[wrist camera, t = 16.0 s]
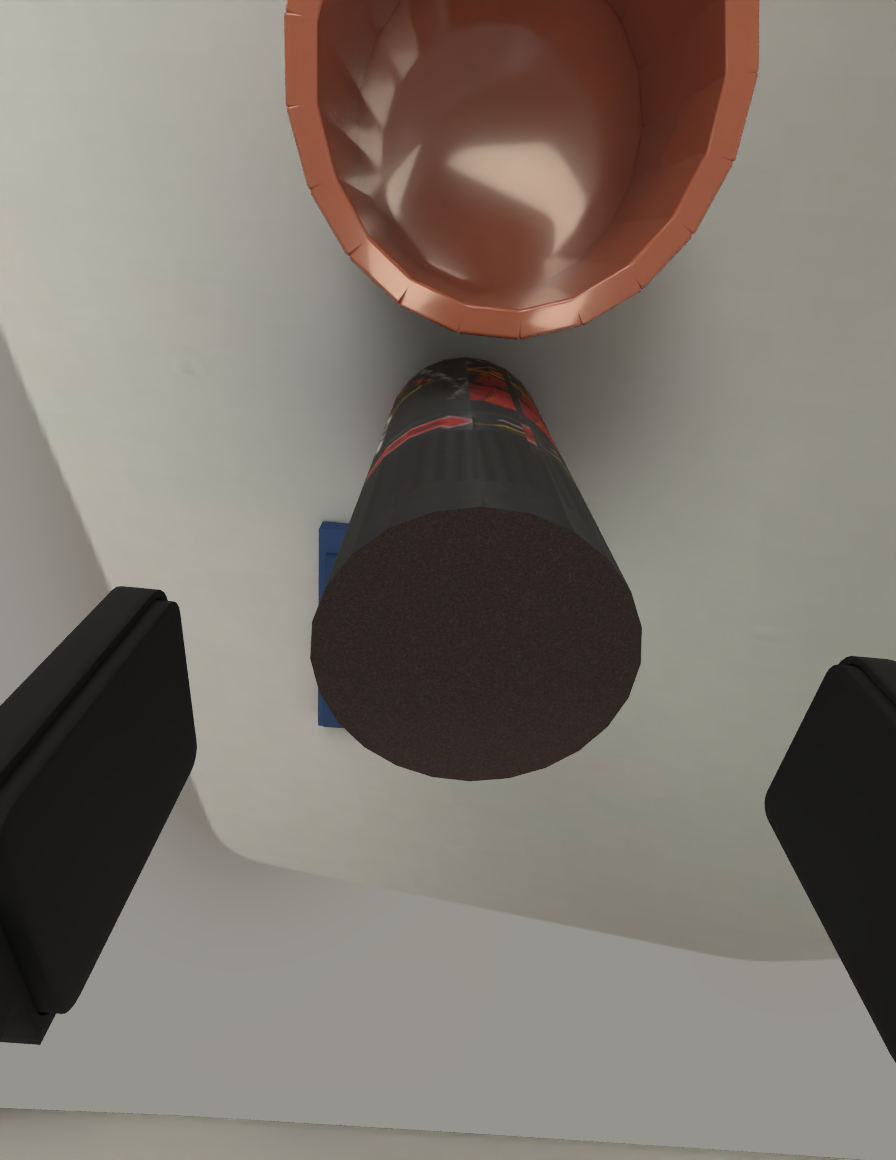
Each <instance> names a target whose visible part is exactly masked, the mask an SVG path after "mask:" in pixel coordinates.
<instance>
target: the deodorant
mask: <svg viewBox="0 0 896 1160" xmlns="http://www.w3.org/2000/svg"><path fill="white" fill-rule="evenodd" d="M641 635H642V627H641V623H640V620H639V617H638V613H637V610H636V607H635V603H634V600H633V597H632V593H631V591H630V589H629V587H628V585H627V583H626V581H625V579H624V577H623V575H622V573H621V571H620V569H619V567H618V565H617V563H616V561H615V560H614V558H613V556H612V554H611V552H610V550H609V548H608V546H607V544H606V542H605V540H604V538H603V536H602V534H601V532H600V530H599V528H598V526H597V525H596V523H595V521H594V519H593V517H592V515H591V513H590V511H589V509H588V507H587V505H586V503H585V501H584V499H583V497H582V495H581V493H580V491H579V490H578V488H577V486H576V484H575V482H574V480H573V478H572V476H571V474H570V472H569V470H568V468H567V466H566V464H565V462H564V460H563V458H562V456H561V455H560V453H559V451H558V449H557V447H556V445H555V443H554V441H553V439H552V437H551V435H550V433H549V431H548V429H547V427H546V425H545V423H544V422H543V420H542V418H541V416H540V414H539V412H538V410H537V408H536V406H535V404H534V402H533V400H532V398H531V397H530V395H529V394H528V392H527V391H526V390H525V388H524V387H523V385H522V384H521V382H519V381H518V380H517V379H516V378H515V377H514V376H512V375H511V374H510V373H509V372H508V371H507V370H505V369H503V368H501V367H499V366H497V365H495V364H493V363H490V362H488V361H485V360H479V359H473V358H466V357H465V358H457V359H448V360H443V361H441V362H439V363H436V364H434V365H431V366H429V367H427V368H425V369H424V370H422V371H421V372H420V373H418V374H417V375H416V376H415V377H413V378H412V379H411V380H410V381H409V382H408V383H407V384H406V386H405V387H404V388H403V390H402V391H401V392H400V394H399V395H398V396H397V398H396V401H395V403H394V406H393V409H392V411H391V414H390V416H389V419H388V422H387V424H386V427H385V430H384V432H383V435H382V438H381V440H380V443H379V446H378V448H377V451H376V454H375V456H374V459H373V462H372V464H371V467H370V470H369V472H368V475H367V478H366V480H365V483H364V486H363V488H362V491H361V494H360V496H359V499H358V502H357V504H356V507H355V510H354V512H353V515H352V518H351V520H350V523H349V526H348V528H347V531H346V534H345V536H344V539H343V542H342V544H341V547H340V550H339V552H338V555H337V557H336V560H335V563H334V565H333V568H332V571H331V573H330V576H329V579H328V581H327V584H326V587H325V589H324V592H323V595H322V597H321V600H320V603H319V605H318V608H317V611H316V613H315V616H314V619H313V621H312V636H311V655H310V659H311V662H312V666H313V670H314V674H315V677H316V681H317V685H318V689H319V692H320V694H321V696H322V697H323V699H324V701H325V702H326V704H327V705H328V707H329V709H330V710H331V712H332V713H333V715H334V717H335V718H336V720H337V722H338V723H339V724H340V725H341V726H342V727H343V728H345V729H346V730H347V731H348V732H349V733H350V734H351V735H352V736H353V737H354V738H355V739H356V740H357V741H358V742H359V743H361V744H362V745H363V746H364V747H365V748H367V749H369V750H370V751H372V752H374V753H376V754H377V755H379V756H381V757H383V758H384V759H386V760H388V761H390V762H391V763H393V764H395V765H397V766H400V767H403V768H406V769H409V770H413V771H416V772H419V773H422V774H425V775H428V776H431V777H438V778H447V779H456V780H464V781H479V780H491V779H504V778H511V777H514V776H518V775H521V774H525V773H529V772H532V771H536V770H539V769H543V768H546V767H548V766H550V765H552V764H554V763H556V762H558V761H560V760H562V759H564V758H566V757H567V756H569V755H571V754H573V753H575V752H577V751H579V750H580V749H582V748H583V747H584V746H585V745H586V744H587V743H589V742H590V741H591V740H592V739H593V738H595V737H596V736H597V735H598V734H599V733H601V732H602V731H603V730H604V729H605V728H607V727H608V725H609V724H610V722H611V721H612V720H613V718H614V717H615V716H616V714H617V713H618V711H619V710H620V709H621V707H622V706H623V704H624V703H625V702H626V700H627V699H628V697H629V695H630V692H631V689H632V686H633V683H634V681H635V678H636V675H637V672H638V669H639V667H640V664H641Z"/></svg>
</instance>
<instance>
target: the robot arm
mask: <svg viewBox="0 0 896 1160" xmlns="http://www.w3.org/2000/svg"><path fill="white" fill-rule="evenodd" d="M196 750H197V742H196V734H195V727H194V719H193V711H192V703H191V695H190V687H189V679H188V671H187V664H186V656H185V648H184V640H183V632H182V624H181V616H180V610H179V606H178V605H177V603H176V602H172V601H168V600H167V597H166V595H165V593H164V592H163V591H161V590H155V589H145V588H134V587H124V586H120V587H116V588H115V589H113V590H112V591H111V592H110V593H109V594H108V595H107V596H106V597H105V598H104V599H103V600H102V601H101V602H100V603H99V604H98V605H97V606H96V607H95V608H94V609H93V610H92V612H91V613H90V614H89V615H88V616H87V617H86V618H85V619H84V620H83V621H82V622H81V623H80V624H79V625H78V626H77V627H76V628H75V629H74V630H73V631H72V632H71V633H70V634H69V635H68V636H67V637H66V638H65V640H64V641H63V642H62V643H61V644H60V645H59V646H58V647H57V648H56V649H55V650H54V651H53V652H52V653H51V654H50V655H49V656H48V657H47V658H46V659H45V660H44V661H43V662H42V663H41V664H40V665H39V666H38V667H37V668H36V670H35V671H34V672H33V673H32V674H31V675H30V676H29V677H28V678H27V679H26V680H25V681H24V682H23V683H22V684H21V685H20V686H19V687H18V688H17V689H16V690H15V691H14V692H13V694H11V696H9V698H8V699H7V700H6V701H5V702H4V703H3V704H2V705H1V706H0V1042H9V1043H24V1044H38V1045H40V1044H41V1042H42V1040H43V1038H44V1036H45V1034H46V1032H47V1030H48V1028H49V1026H50V1024H51V1022H52V1020H53V1019H54V1017H55V1014H56V1013H58V1014H59V1013H60V1014H65V1013H66V1012H68V1011H69V1010H70V1009H71V1008H72V1007H73V1005H74V1004H75V1003H76V1001H77V999H78V997H79V996H80V994H81V992H82V990H83V988H84V986H85V984H86V982H87V980H88V978H89V975H90V974H91V972H92V970H93V968H94V966H95V963H96V961H97V959H98V958H99V955H100V953H101V951H102V949H103V947H104V945H105V943H106V941H107V939H108V937H109V935H110V933H111V931H112V929H113V927H114V925H115V923H116V921H117V919H118V917H119V915H120V913H121V911H122V909H123V907H124V905H125V903H126V901H127V899H128V897H129V895H130V893H131V891H132V889H133V887H134V885H135V883H136V881H137V879H138V877H139V875H140V873H141V871H142V869H143V867H144V865H145V863H146V861H147V859H148V857H149V855H150V853H151V851H152V849H153V846H154V845H155V843H156V841H157V839H158V837H159V834H160V833H161V830H162V829H163V827H164V825H165V823H166V821H167V819H168V817H169V815H170V813H171V811H172V809H173V807H174V804H175V803H176V801H177V799H178V797H179V795H180V792H181V790H182V789H183V786H184V784H185V782H186V780H187V778H188V776H189V774H190V772H191V770H192V768H193V765H194V762H195V757H196ZM765 811H766V816H767V818H768V821H769V823H770V824H771V826H772V828H773V830H774V832H775V834H776V836H777V838H778V840H779V842H780V844H781V846H782V847H783V849H784V851H785V853H786V855H787V857H788V859H789V861H790V863H791V865H792V867H793V869H794V870H795V872H796V874H797V876H798V878H799V880H800V882H801V884H802V886H803V888H804V890H805V892H806V893H807V895H808V897H809V899H810V901H811V903H812V905H813V907H814V909H815V911H816V913H817V915H818V916H819V918H820V920H821V922H822V924H823V926H824V928H825V930H826V932H827V934H828V936H829V938H830V939H831V941H832V943H833V945H834V947H835V949H836V951H837V953H838V955H839V957H840V959H841V961H842V962H843V964H844V966H845V968H846V970H847V972H848V974H849V976H850V978H851V980H852V981H853V983H854V985H855V987H856V989H857V991H858V993H859V995H860V997H861V999H862V1001H863V1003H864V1005H865V1007H866V1008H867V1010H868V1012H869V1014H870V1016H871V1018H872V1020H873V1022H874V1024H875V1026H876V1028H877V1030H878V1031H879V1033H880V1035H881V1037H882V1039H883V1041H884V1043H885V1045H886V1047H887V1049H888V1051H889V1053H890V1054H891V1056H892V1058H893V1059H894V1061H895V1062H896V661H893V660H888V659H878V658H868V657H857V656H850V657H846V658H845V659H843V660H842V661H841V662H840V663H839V665H834V666H832V667H831V668H830V669H829V670H828V672H827V673H826V675H825V677H824V679H823V681H822V683H821V685H820V687H819V689H818V691H817V693H816V695H815V697H814V699H813V701H812V703H811V705H810V707H809V709H808V711H807V713H806V715H805V717H804V719H803V721H802V723H801V725H800V727H799V729H798V731H797V733H796V735H795V737H794V739H793V741H792V743H791V745H790V747H789V749H788V751H787V753H786V755H785V757H784V759H783V761H782V763H781V765H780V767H779V769H778V771H777V773H776V775H775V777H774V779H773V781H772V783H771V785H770V787H769V789H768V791H767V794H766V797H765ZM0 1160H858V1159H845V1158H831V1157H817V1156H803V1155H787V1154H773V1153H758V1152H743V1151H728V1150H714V1149H699V1148H684V1147H669V1146H653V1145H639V1144H625V1143H610V1142H609V1143H608V1142H594V1141H578V1140H564V1139H549V1138H533V1137H518V1136H502V1135H487V1134H473V1133H457V1132H441V1131H425V1130H407V1129H392V1128H374V1127H359V1126H342V1125H325V1124H309V1123H294V1122H276V1121H260V1120H243V1119H228V1118H211V1117H194V1116H178V1115H157V1114H133V1113H107V1112H84V1111H83V1112H82V1111H60V1110H59V1111H58V1110H35V1109H11V1108H0Z"/></svg>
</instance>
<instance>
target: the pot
mask: <svg viewBox="0 0 896 1160" xmlns="http://www.w3.org/2000/svg"><path fill="white" fill-rule="evenodd" d="M284 32H285V91H286V106H287V107H288V108H287V112H288V116H289V120H290V123H291V127H292V131H293V134H294V138H295V142H296V145H297V149H298V153H299V156H300V160H301V164H302V167H303V171H304V175H305V178H306V182H307V186H308V188H309V189H310V190H311V195H312V197H313V198H314V200H315V202H316V203H317V205H318V207H319V209H320V210H321V212H322V214H323V215H324V217H325V219H326V221H327V222H328V224H329V226H330V227H331V229H332V231H333V233H334V234H335V236H336V238H337V239H338V241H339V243H340V245H341V246H342V248H343V250H344V251H345V253H346V254H347V255H348V256H350V259H351V261H352V262H353V263H354V264H355V265H357V266H358V267H359V268H360V269H361V270H362V271H363V272H364V273H365V274H366V275H367V276H368V277H369V278H370V279H371V280H372V281H373V282H375V283H376V284H377V285H378V286H379V287H380V288H381V289H382V290H383V291H384V292H385V293H386V294H387V295H388V296H389V297H390V298H391V299H393V300H394V301H395V302H396V303H398V304H399V303H400V306H401V307H403V308H405V309H407V310H409V311H411V312H413V313H416V314H418V315H420V316H422V317H424V318H426V319H428V320H430V321H433V322H435V323H437V324H439V325H441V326H443V327H445V328H447V329H449V330H452V331H454V332H459V333H461V334H470V335H479V336H488V337H497V338H507V339H519V338H520V339H526V338H530V337H535V336H539V335H543V334H548V333H552V332H557V331H561V330H566V329H570V328H574V327H579V326H580V325H581V324H582V325H585V324H586V323H588V322H590V321H591V320H593V319H595V318H597V317H598V316H600V315H602V314H603V313H605V312H607V311H608V310H610V309H612V308H614V307H615V306H617V305H619V304H620V303H622V302H624V301H625V300H627V299H629V298H631V297H632V296H634V295H636V294H637V293H639V292H640V291H641V289H643V288H645V286H646V285H647V284H648V283H649V282H650V281H651V280H652V279H653V278H654V277H655V276H656V275H657V274H658V273H659V272H660V271H661V270H662V269H663V267H664V266H665V265H666V264H667V263H668V262H669V261H670V260H671V259H672V258H673V257H674V256H675V255H676V254H677V253H678V252H679V251H680V250H681V248H682V247H683V246H684V245H685V244H686V243H687V242H688V241H689V240H690V239H691V237H692V234H694V233H695V232H696V230H697V229H698V227H699V225H700V223H701V221H702V220H703V218H704V216H705V214H706V212H707V210H708V209H709V207H710V205H711V203H712V201H713V200H714V198H715V196H716V194H717V192H718V190H719V189H720V187H721V185H722V183H723V181H724V180H725V178H726V176H727V174H728V172H729V170H730V169H731V167H732V163H733V162H732V161H734V160H735V159H736V155H737V151H738V148H739V144H740V140H741V136H742V132H743V129H744V125H745V121H746V117H747V114H748V110H749V106H750V102H751V99H752V95H753V91H754V87H755V84H756V80H757V76H758V74H757V72H758V62H759V0H287V4H286V13H285V14H284Z"/></svg>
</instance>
